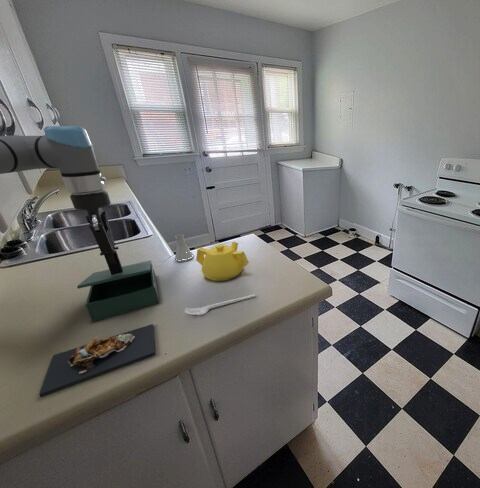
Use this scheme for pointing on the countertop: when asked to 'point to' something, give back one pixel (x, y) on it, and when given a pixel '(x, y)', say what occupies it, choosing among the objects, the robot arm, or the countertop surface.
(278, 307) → the countertop surface
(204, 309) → the white spoon
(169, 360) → the countertop surface
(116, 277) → the box lid
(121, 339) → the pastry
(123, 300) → the box
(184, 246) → the flask
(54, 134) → the robot arm
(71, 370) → the trivet mat
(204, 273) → the teapot
